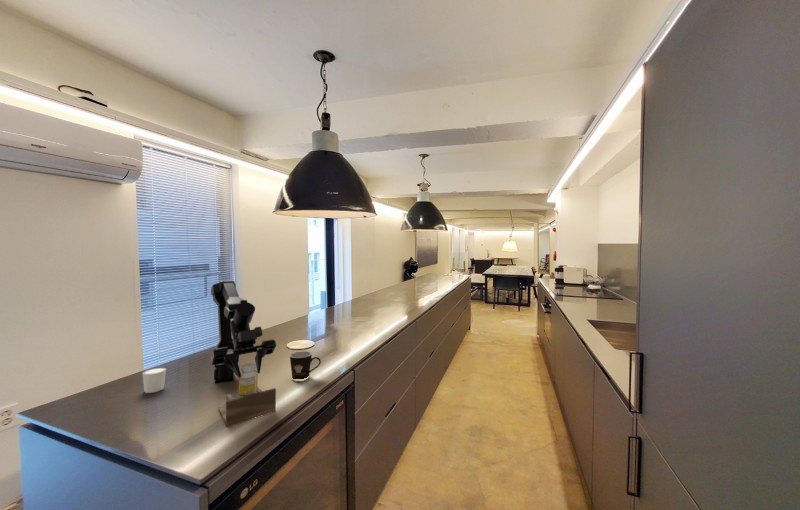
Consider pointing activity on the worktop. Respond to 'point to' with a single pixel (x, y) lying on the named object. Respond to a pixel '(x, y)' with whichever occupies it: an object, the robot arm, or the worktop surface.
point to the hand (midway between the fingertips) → (249, 375)
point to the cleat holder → (248, 406)
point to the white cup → (154, 380)
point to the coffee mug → (301, 364)
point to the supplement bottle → (248, 380)
